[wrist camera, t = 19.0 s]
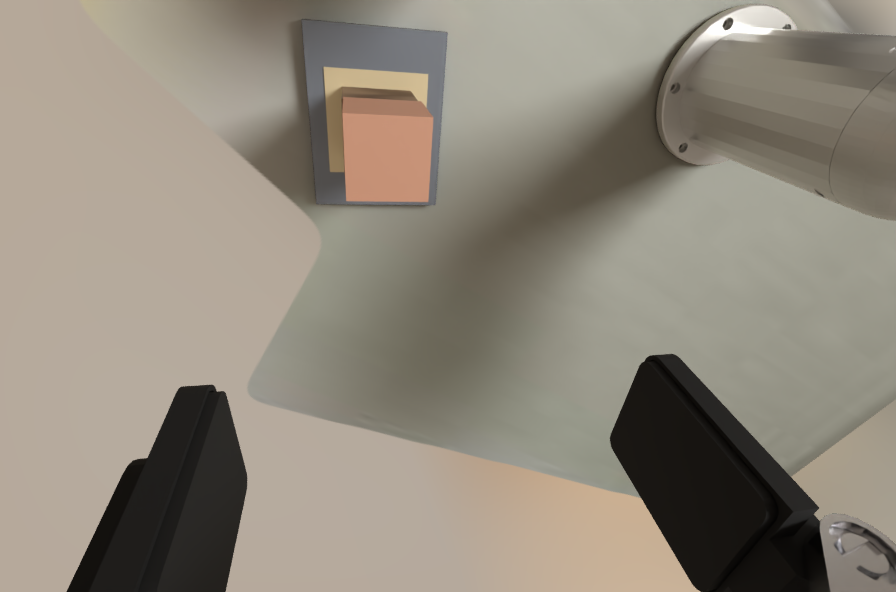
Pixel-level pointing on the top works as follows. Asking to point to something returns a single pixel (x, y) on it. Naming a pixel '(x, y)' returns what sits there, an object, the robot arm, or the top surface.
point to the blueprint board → (366, 66)
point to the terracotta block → (386, 150)
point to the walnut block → (375, 96)
